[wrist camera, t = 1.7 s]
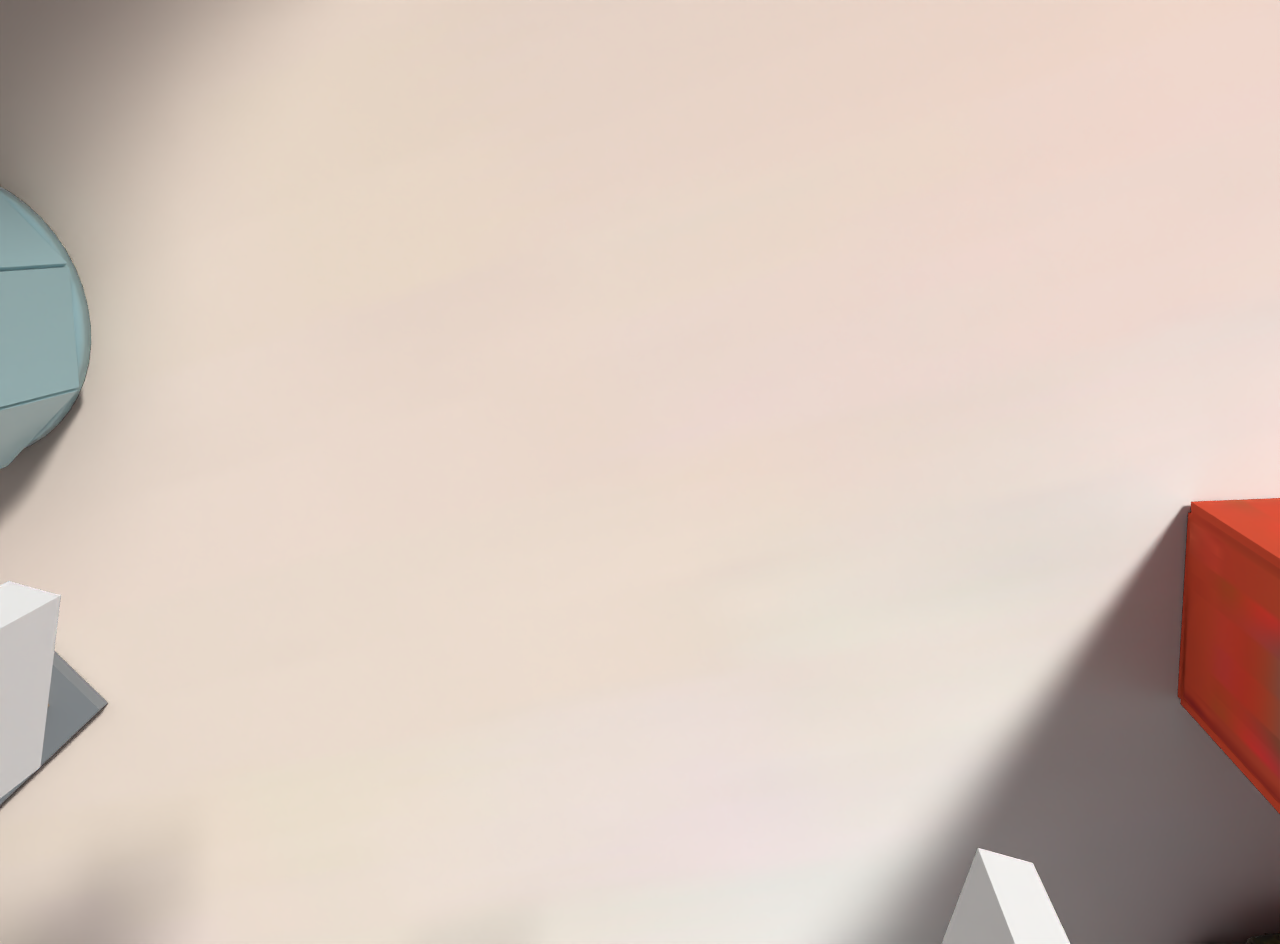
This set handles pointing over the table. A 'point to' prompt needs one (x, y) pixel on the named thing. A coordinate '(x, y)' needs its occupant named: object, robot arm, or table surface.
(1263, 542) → the file binder
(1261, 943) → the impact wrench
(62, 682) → the mat
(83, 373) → the bowl
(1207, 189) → the table surface
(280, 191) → the table surface
